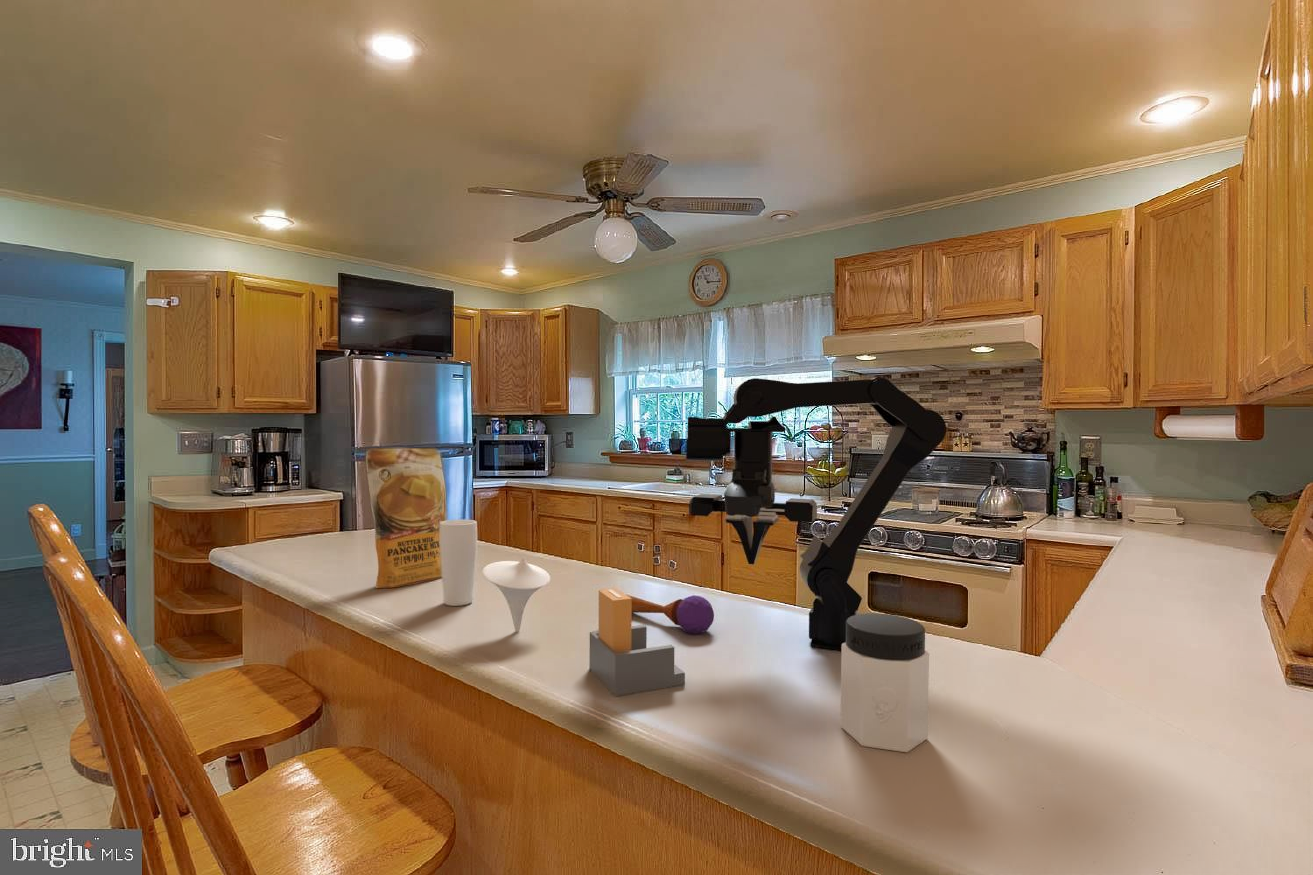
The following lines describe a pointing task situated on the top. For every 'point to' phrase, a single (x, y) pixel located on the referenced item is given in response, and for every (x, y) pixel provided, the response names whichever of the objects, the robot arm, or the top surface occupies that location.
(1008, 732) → the top surface
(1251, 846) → the top surface
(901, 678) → the jar
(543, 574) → the white spinning top
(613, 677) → the base
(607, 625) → the breaker toggle
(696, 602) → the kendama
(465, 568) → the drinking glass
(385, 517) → the pancake mix bag
